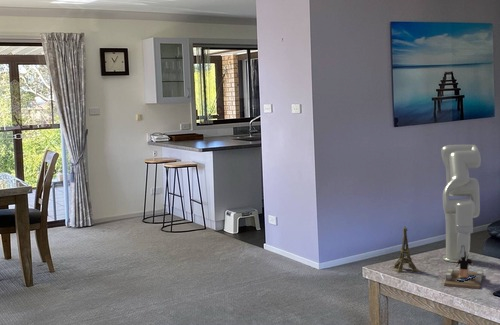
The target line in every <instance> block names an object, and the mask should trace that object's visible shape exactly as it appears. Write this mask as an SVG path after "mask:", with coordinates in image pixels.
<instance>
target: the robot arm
mask: <svg viewBox="0 0 500 325" xmlns="http://www.w3.org/2000/svg"><path fill="white" fill-rule="evenodd" d="M440 152H441V154H440V155H441V159H442V162H443V164H444V167H445V171H446V172H445V174H446V176H445V177H446V186H444V188H443V190H442V197H441V198H442V209H443V212H444V216H445V217H444V220H445V254H444V255H443V256H442V260H444V261H446V262H450V263H457V262H458V261H459V260H460V264H459V270H460V269H468V270H469V263H468V261H467V259H469V256H468V257H467V254H470V249H471V234H473V233H474V220H473V219H475V218H478V217H479V216H480V212H481V205H480V204H481V203H480V199H481V198H480V197H481V196H480V184H479V181H478V179H476V178H475V177H470V173H469V169H476V168H479V167H480V166H481V165H482V164H481V163H482V162H481V161H482V157H481V153H480V151H479V148H478V146H477V145H476V144H447V145H444V146H443V147H441V150H440ZM449 197H469V198H449ZM465 253H466V254H465ZM465 256H466V258H465Z"/></svg>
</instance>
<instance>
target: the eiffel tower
mask: <svg viewBox="0 0 500 325" xmlns="http://www.w3.org/2000/svg"><path fill="white" fill-rule="evenodd" d="M402 231H403V233H402V234H403V235H402V243H401V248H400V249H399V250H400V254H399V256H398V259H397V260H396V262H395V263H394V265H392V266H391V267H392V269H397V270H396V273H404V271H403V268H404V267H403V266H404V265H405V264H408V265H407V267H408V268H411V271H412V272H414V273H420V271H419V270H418V269H417V267H416V265H415V264H414V262H413V258H412V257H411V255H410V254H411V253H410V252H411V250H410V249H409V242H408V241H409V240H408V233H407V231H408V228H407V227H402ZM405 255H406V256H405Z"/></svg>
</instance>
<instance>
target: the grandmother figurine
mask: <svg viewBox="0 0 500 325" xmlns="http://www.w3.org/2000/svg"><path fill="white" fill-rule="evenodd" d="M465 254H466V253H465ZM469 254H470V253H468V254H467V257H468V259H467V261H468V265H470V266H471V267H474V264H473V261H472V260H471V259H470V258H469ZM465 258H466V256H465ZM459 266H460V260H459V261H458V262H456V264H455V267H457V268H458V267H459ZM459 271H460V276H459V278H463V277H464V278H469V277H468V272H469V268H468V269H460V268H459Z"/></svg>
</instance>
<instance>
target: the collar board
mask: <svg viewBox="0 0 500 325" xmlns="http://www.w3.org/2000/svg"><path fill="white" fill-rule="evenodd" d="M469 275H474V276H476V277H475V278H473V279H470V280H468V281H464V282H459V281H457V280H456V279H459V276H460V270H454V268H451V267H449V268H448V269H447V271H446V273H445V281H444V283H443V284H444V285H443V286H444V287H452V288H455V287H456V288H462V289H463V288H465V289H466V288H467V289H477V290H480V288H481V284H482V280H483V277H484V272H483V270H479V269H478V270H477V271H468V276H469Z"/></svg>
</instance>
